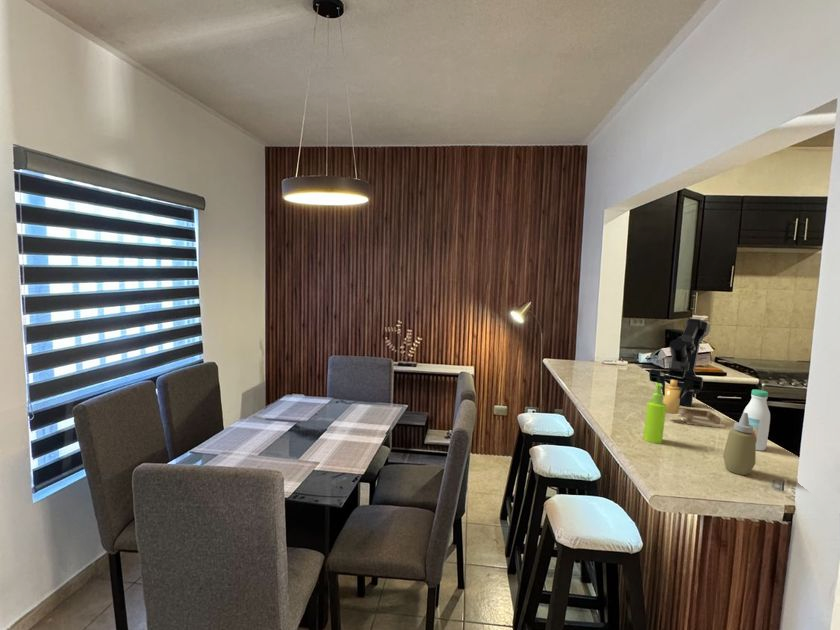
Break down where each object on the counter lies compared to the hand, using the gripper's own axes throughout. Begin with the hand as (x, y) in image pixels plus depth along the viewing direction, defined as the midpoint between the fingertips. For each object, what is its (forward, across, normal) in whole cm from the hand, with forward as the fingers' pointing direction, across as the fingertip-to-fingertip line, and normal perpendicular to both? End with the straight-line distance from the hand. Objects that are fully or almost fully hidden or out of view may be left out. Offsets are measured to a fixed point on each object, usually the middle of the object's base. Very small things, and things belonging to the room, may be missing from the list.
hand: (671, 396), depth 182 cm
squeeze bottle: (+34, +23, -20) cm, 46 cm away
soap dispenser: (+27, -2, -13) cm, 30 cm away
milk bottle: (+14, +27, +1) cm, 30 cm away
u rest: (-1, +10, +15) cm, 18 cm away
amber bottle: (+4, 0, +6) cm, 7 cm away
